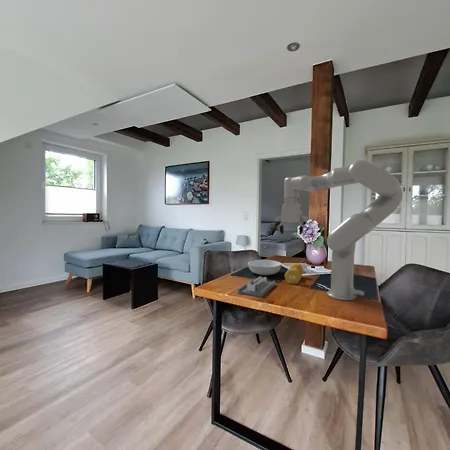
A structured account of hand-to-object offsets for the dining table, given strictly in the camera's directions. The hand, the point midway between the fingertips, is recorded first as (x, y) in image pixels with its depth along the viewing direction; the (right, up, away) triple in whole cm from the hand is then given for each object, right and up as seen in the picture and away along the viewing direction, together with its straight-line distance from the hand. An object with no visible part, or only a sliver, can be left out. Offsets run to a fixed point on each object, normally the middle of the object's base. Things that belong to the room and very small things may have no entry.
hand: (291, 233), depth 135 cm
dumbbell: (+5, -28, +14) cm, 31 cm away
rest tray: (-18, -28, -3) cm, 34 cm away
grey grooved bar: (-18, -27, -3) cm, 33 cm away
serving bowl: (-10, -27, +28) cm, 40 cm away
